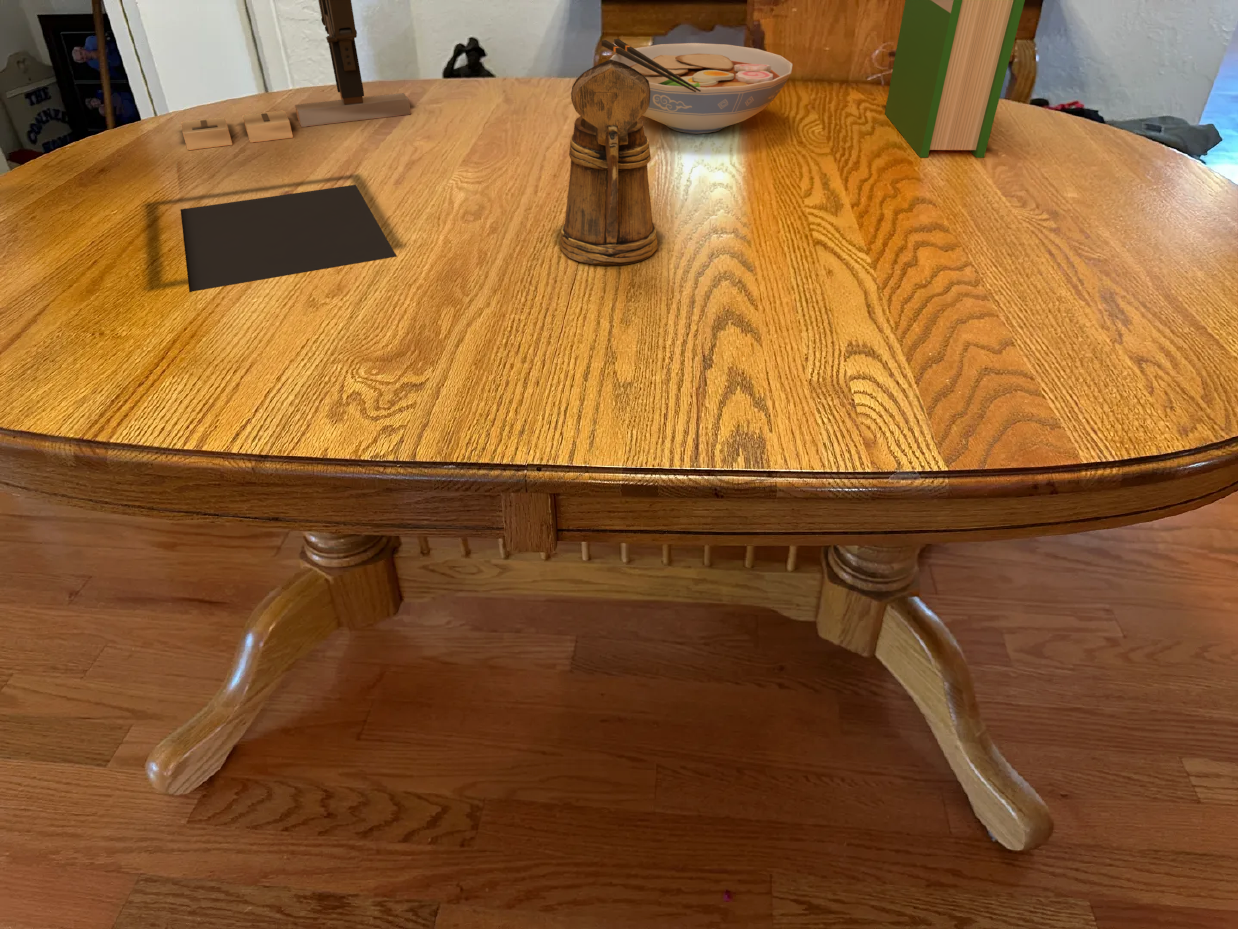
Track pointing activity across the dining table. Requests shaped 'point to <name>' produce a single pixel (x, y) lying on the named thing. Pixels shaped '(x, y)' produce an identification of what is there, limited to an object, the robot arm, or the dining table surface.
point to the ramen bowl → (704, 82)
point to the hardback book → (951, 72)
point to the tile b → (267, 126)
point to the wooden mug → (609, 169)
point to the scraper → (351, 106)
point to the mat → (279, 236)
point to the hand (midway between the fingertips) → (350, 93)
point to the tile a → (206, 133)
